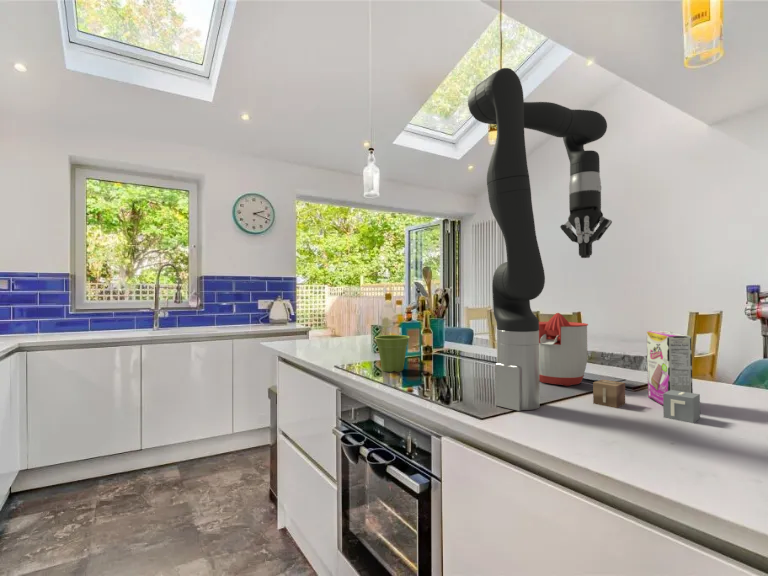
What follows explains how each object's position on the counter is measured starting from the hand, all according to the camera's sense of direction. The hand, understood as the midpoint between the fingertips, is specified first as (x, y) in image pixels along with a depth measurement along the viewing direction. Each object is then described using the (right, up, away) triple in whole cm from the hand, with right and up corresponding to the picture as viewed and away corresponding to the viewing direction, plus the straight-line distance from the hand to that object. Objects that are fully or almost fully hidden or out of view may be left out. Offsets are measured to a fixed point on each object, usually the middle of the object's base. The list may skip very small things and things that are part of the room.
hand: (585, 257), depth 108 cm
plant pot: (-50, -36, +29) cm, 68 cm away
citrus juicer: (-3, -35, +10) cm, 37 cm away
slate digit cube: (+8, -35, -24) cm, 43 cm away
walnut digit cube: (-1, -35, -13) cm, 37 cm away
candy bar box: (+12, -35, -14) cm, 40 cm away
